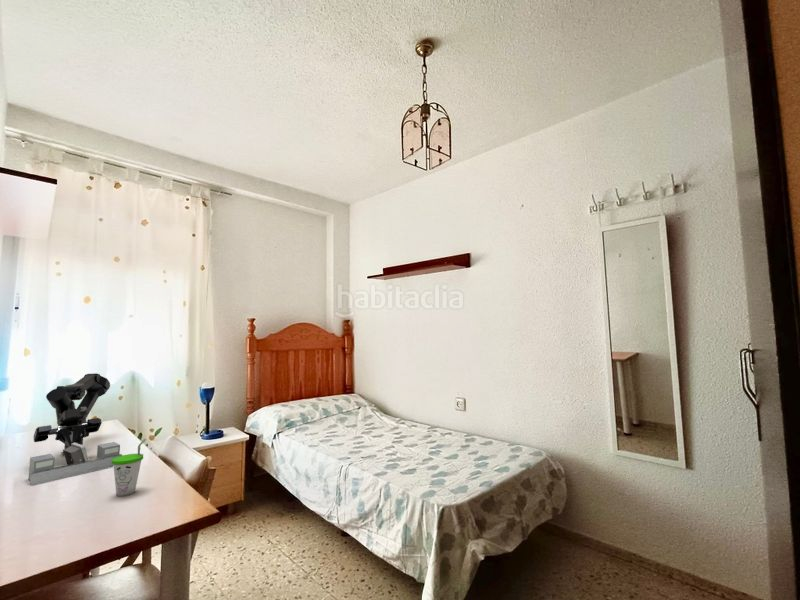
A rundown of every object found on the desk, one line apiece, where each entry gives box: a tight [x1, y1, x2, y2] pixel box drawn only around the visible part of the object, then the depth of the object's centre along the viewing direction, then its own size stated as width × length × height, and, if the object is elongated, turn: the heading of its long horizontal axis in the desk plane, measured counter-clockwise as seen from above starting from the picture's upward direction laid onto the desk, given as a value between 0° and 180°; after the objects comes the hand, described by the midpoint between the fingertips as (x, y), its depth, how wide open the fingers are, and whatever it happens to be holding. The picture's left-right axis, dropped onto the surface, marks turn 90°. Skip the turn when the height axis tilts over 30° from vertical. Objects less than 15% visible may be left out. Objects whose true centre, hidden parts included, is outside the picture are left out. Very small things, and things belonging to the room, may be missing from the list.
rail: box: [29, 453, 123, 486], centre depth 128 cm, size 2×24×4 cm, turn 142°
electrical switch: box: [62, 443, 90, 465], centre depth 132 cm, size 9×5×9 cm, turn 58°
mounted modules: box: [27, 441, 121, 482], centre depth 130 cm, size 7×23×7 cm, turn 142°
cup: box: [112, 438, 147, 497], centre depth 111 cm, size 8×8×15 cm
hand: (72, 448), depth 137 cm, fingers closed
